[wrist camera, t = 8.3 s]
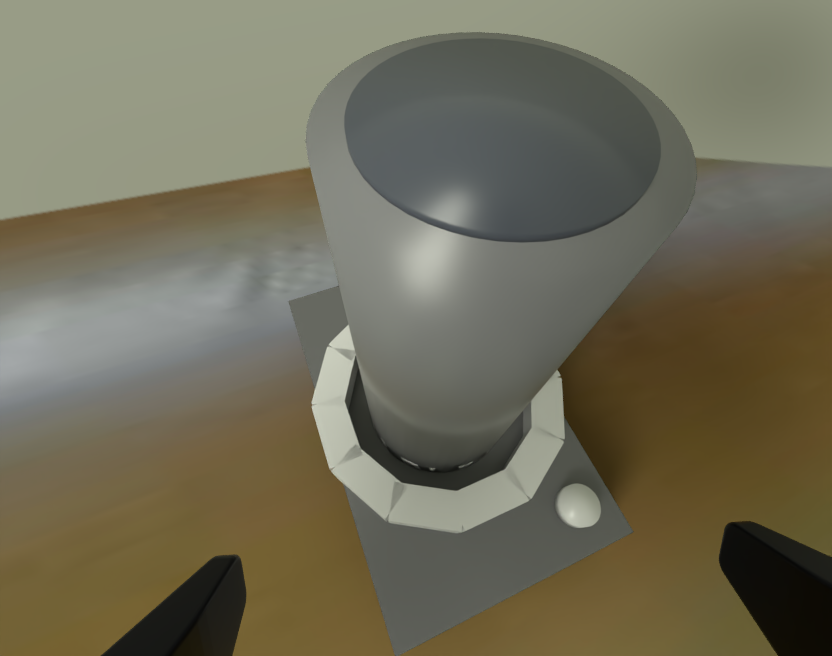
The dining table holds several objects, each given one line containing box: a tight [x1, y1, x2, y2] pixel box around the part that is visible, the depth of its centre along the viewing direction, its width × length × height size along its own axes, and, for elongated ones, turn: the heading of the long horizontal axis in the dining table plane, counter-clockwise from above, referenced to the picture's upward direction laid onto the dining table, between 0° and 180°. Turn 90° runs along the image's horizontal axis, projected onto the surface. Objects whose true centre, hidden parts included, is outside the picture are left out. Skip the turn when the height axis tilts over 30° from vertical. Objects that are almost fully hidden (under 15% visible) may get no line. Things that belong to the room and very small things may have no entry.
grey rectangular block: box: [289, 286, 633, 656], centre depth 17 cm, size 14×9×4 cm
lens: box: [306, 32, 697, 473], centre depth 11 cm, size 6×6×12 cm
